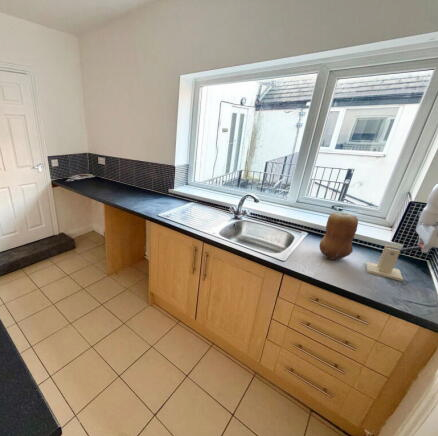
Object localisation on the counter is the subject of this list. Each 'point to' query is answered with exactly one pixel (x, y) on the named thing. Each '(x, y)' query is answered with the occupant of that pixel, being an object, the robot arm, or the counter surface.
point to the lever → (410, 248)
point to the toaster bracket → (386, 264)
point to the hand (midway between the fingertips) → (421, 248)
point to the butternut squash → (339, 235)
